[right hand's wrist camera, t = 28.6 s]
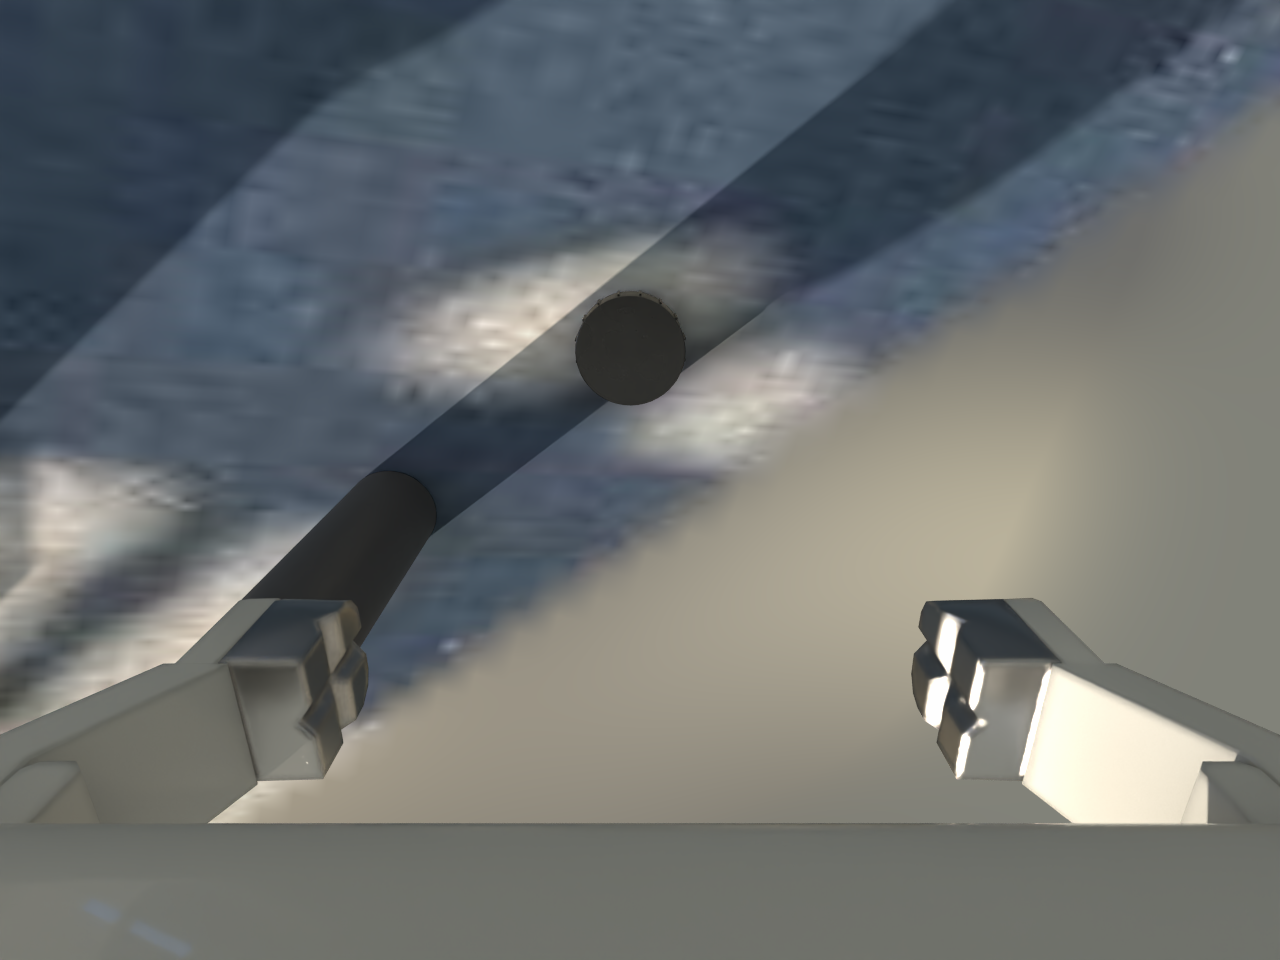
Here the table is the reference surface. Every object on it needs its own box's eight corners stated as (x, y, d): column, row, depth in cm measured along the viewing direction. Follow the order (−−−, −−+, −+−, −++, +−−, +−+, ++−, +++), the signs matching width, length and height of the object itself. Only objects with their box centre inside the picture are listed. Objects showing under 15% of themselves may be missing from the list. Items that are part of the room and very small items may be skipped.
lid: (700, 314, 34) (703, 320, 33) (659, 411, 36) (660, 421, 34) (599, 273, 34) (597, 277, 32) (563, 373, 35) (559, 382, 34)
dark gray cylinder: (361, 553, 39) (204, 751, 25) (340, 474, 37) (158, 640, 23) (444, 545, 39) (333, 741, 25) (426, 466, 37) (297, 628, 23)
